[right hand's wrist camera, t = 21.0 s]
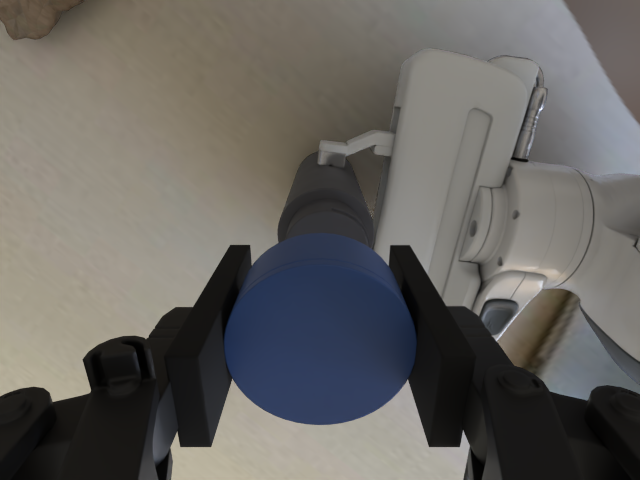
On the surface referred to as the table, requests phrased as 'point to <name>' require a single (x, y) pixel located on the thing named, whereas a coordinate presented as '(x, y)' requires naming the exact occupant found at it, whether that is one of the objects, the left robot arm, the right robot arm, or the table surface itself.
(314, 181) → the jar
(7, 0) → the stone
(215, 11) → the table surface
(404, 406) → the table surface
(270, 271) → the lid
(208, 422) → the right robot arm
